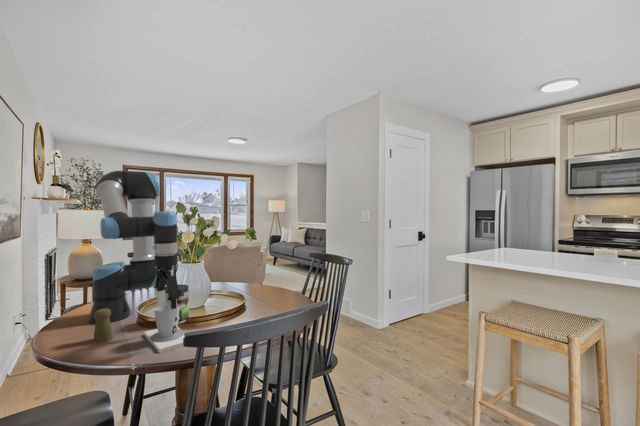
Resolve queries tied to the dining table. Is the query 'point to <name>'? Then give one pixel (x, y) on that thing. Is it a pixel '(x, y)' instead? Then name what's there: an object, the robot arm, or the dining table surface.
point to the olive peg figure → (102, 326)
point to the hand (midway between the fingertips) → (167, 312)
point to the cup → (166, 321)
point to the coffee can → (181, 302)
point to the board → (165, 340)
